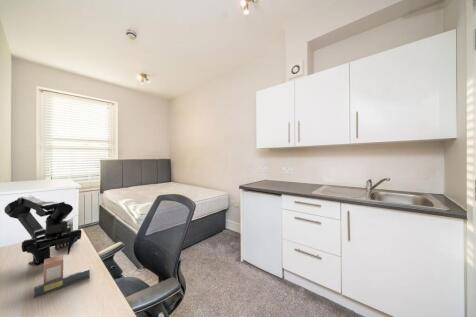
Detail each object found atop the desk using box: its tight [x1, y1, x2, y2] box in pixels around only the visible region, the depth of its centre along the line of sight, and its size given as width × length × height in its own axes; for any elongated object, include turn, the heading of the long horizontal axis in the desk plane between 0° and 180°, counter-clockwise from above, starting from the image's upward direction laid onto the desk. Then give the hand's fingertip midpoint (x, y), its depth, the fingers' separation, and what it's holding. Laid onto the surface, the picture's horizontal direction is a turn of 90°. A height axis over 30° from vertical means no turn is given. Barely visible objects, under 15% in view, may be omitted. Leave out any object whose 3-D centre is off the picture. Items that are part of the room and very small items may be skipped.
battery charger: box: [54, 226, 71, 250], centre depth 104 cm, size 7×4×11 cm, turn 140°
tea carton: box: [43, 254, 64, 284], centre depth 74 cm, size 6×6×10 cm
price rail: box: [33, 268, 91, 299], centre depth 73 cm, size 2×16×4 cm, turn 136°
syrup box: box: [63, 216, 74, 231], centre depth 110 cm, size 6×6×14 cm
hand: (53, 258), depth 78 cm, fingers open, 9 cm apart
